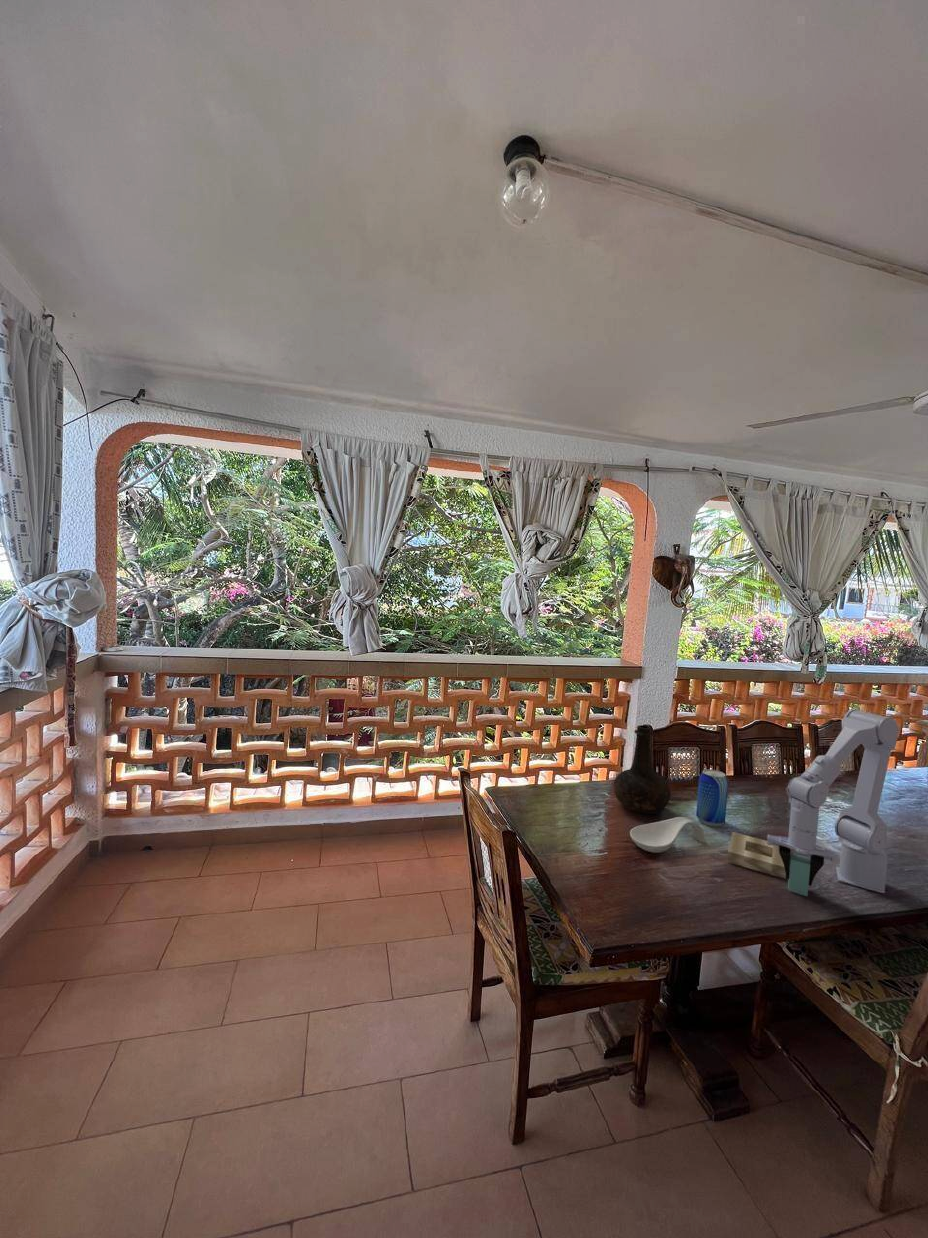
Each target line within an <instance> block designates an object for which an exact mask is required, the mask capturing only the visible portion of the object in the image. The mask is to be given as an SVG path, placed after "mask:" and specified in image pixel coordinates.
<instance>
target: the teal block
mask: <svg viewBox="0 0 928 1238" xmlns="http://www.w3.org/2000/svg"><path fill="white" fill-rule="evenodd" d="M790 856H791V857H790V866H789V879H787V891H788V892H791V893H795V894H797V895H802V896H804V897H808V895H809V886H810V885H809V875H810V858H811V857H808V856H804V855H800V854H796V853H793V852H791V853H790Z"/></svg>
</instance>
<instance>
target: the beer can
mask: <svg viewBox="0 0 928 1238" xmlns="http://www.w3.org/2000/svg"><path fill="white" fill-rule="evenodd" d="M697 789H698V790H697V799H696V800H697V801H696V813H695V814H696V817H697V819H698V821H699V822H700V823H701V824H702V825H703V824H704V825H706V826H709V827H715V828H716V827H718V828H719V827H721V826H722V825H723V824H725V822H726V817H727V816H726V815H727V802H728V790H729V781H728V779H727V777H726V774H725V773H724V772H723V771H720V770H715V769H707V768H706V769H703V770H702V773H701V774H700V775H699V777H698V787H697Z"/></svg>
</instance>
